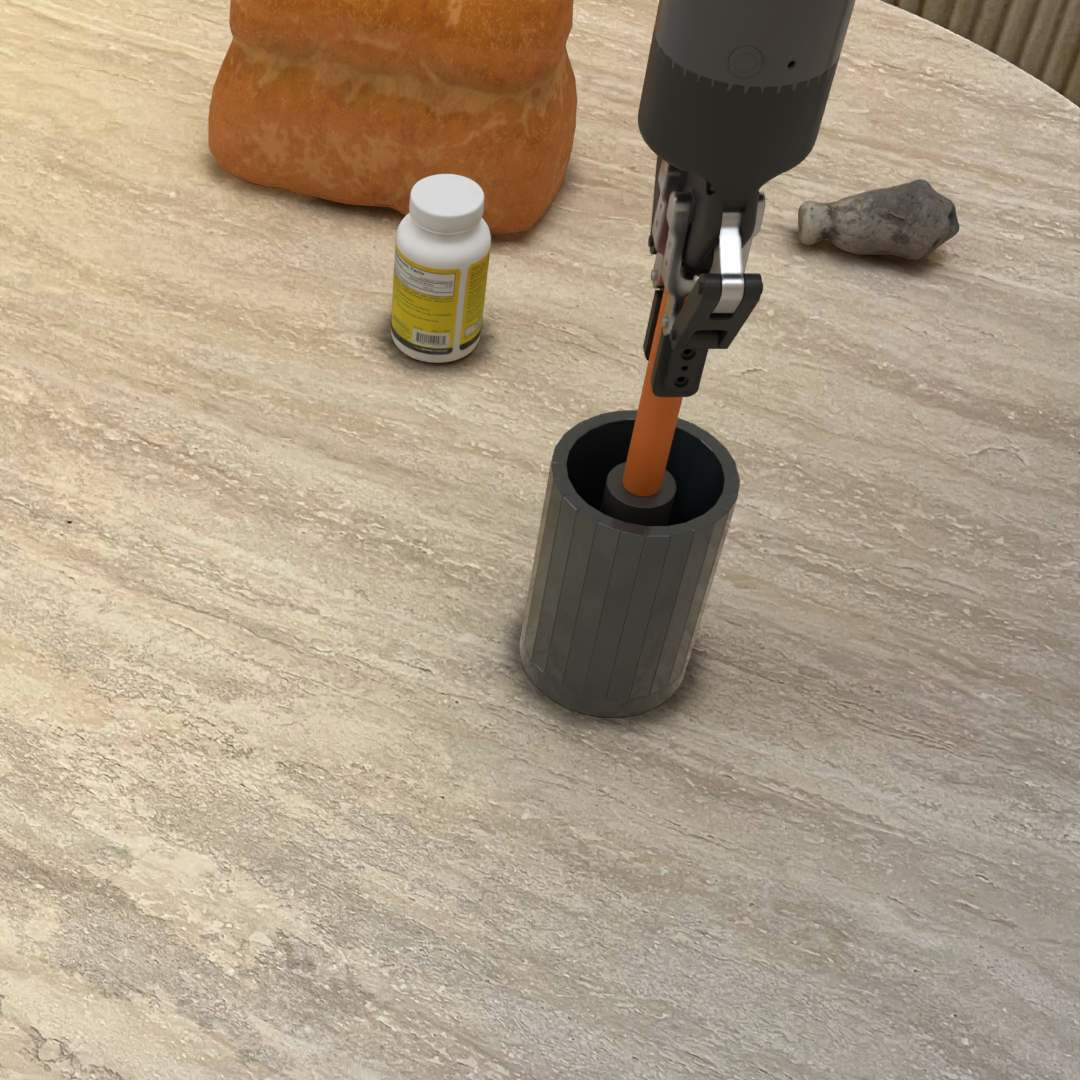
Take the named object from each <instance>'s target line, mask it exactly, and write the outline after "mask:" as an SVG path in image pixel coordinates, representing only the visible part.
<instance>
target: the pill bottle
mask: <svg viewBox="0 0 1080 1080" xmlns="http://www.w3.org/2000/svg"><path fill="white" fill-rule="evenodd" d="M483 211H484V193H483V190H482V189H481V187H480V186H479V185H478V184H477V183H476V182H474V181H473V180H471V179H469V178H467V177H464V176H460V175H455V174H437V175H432V176H429V177H426V178H424V179H422V180H420V181H418V182H417V183H416V184H415V185H414V186H413V188H412V190H411V194H410V203H409V213H408V214H407V215H404V217H403V218H402V220H401V221H400V222H399V225H398V227H397V230H396V234H395V247H394V262H393V278H392V295H391V310H390V311H391V313H390V334H391V335H390V336H391V338H392V340H393V343H394V345H395V346H396V347H397V348H398V349H399V350H400V351H401V352H402V353H403V354H405V355H406V356H408V357H409V358H411V359H414V360H417V361H419V362H420V361H421V362H426V363H432V364H433V363H434V364H436V363H439V364H440V363H449V362H454V361H457V360H460V359H463V358H464V357H467V356H468V355H469V354H471V353H472V352H473V351H474V350H475V349H476V347H477V346H478V343H479V341H480V339H481V334H482V328H483V318H484V309H485V302H486V301H485V300H486V291H487V283H488V282H487V281H488V274H489V265H490V257H491V247H492V234H491V233H490V231H489V227H488V225H487V224H486V222H485V221H484V219H483V218H482V215H483Z"/></svg>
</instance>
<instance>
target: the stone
mask: <svg viewBox="0 0 1080 1080" xmlns="http://www.w3.org/2000/svg"><path fill="white" fill-rule="evenodd" d="M797 229H798V238H799V240H800V242H801V243H802V244H803V245H804V246H812V245H814V244H816V243H818V242H821V241H822V240H827V241H829V242H830V243H831V244H832V245H834V246H835V247H836V248H838V249H840V250H842V251H844V252H847V253H849V254H850V253H851V254H854V255H864V256H865V255H867V256H869V255H870V256H871V255H873V256H879V255H885V256H886V255H887V256H895V257H899V258H903V259H905V260H907V261H910V262H916V261H920V260H923V259H925V258H927V257H928V256H930V255H931V254H932V253H933V252H934V251H935V250H936V249H938V248H939V247H941V246H942V245H943V244H945V243H946V242H948V241H949V240H950V239H952V238H953V237H955V236H956V235H957V234H958V233H959V231H960V224H959V219H958V216H957V210H956V205H955V203H954V202H953V201H952V199H950V198H948V197H947V196H944V195H943V194H941V193H939V192H938V191H937V190H935V188H933V186H932V185H931V183H930V182H929V181H927V179H922V178H917V179H915V180H912V181H910V182H906V183H901V184H898V185H897V184H896V185H893V186H890V187H882V188H881V187H880V188H874V189H871V190H867V191H864V192H859V193H857V194H853V195H849V196H845V197H842V198H840V199H837V200H836V201H831V202H819V201H815V200H805V201H803V202H802V203H801V204H800V205H799V207H798V212H797Z"/></svg>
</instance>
